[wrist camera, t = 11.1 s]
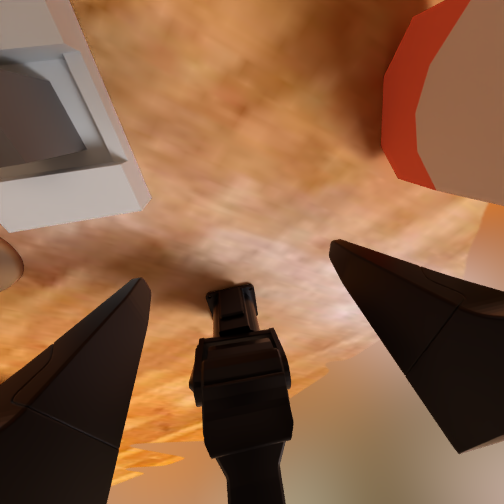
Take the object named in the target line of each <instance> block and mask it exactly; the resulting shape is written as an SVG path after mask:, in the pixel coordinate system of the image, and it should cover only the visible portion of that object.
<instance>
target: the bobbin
mask: <svg viewBox="0 0 504 504" xmlns="http://www.w3.org/2000/svg"><path fill="white" fill-rule="evenodd" d="M23 271H24V265H23V261H22V259H21V257H20V256H19V254H18V253H17V252H16V250H15V249H14V248H13V247H12V246H11V245H10V244H9V243H7V242H6V241H5V240H3V239H2V238H0V291H3V290H5V289H7V288H9V287H10V286H11V285H12V284H14V283H15V282H16V281H17V280H18V279H20V277H21V276H22V274H23Z"/></svg>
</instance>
